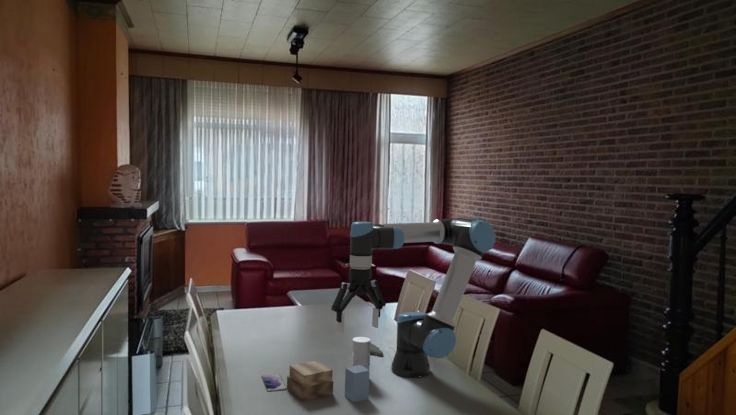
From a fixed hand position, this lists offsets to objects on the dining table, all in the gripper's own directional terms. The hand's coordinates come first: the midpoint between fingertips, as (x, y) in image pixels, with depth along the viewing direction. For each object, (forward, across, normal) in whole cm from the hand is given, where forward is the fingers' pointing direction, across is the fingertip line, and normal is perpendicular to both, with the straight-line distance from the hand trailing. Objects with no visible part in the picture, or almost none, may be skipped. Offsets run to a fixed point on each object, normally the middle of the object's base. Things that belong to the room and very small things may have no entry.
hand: (358, 329), depth 180 cm
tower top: (+19, +12, -12) cm, 25 cm away
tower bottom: (+24, +12, -12) cm, 30 cm away
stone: (+24, -30, -40) cm, 56 cm away
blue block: (+24, 0, 0) cm, 24 cm away
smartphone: (+24, +20, -25) cm, 40 cm away
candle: (+24, -10, -14) cm, 30 cm away
